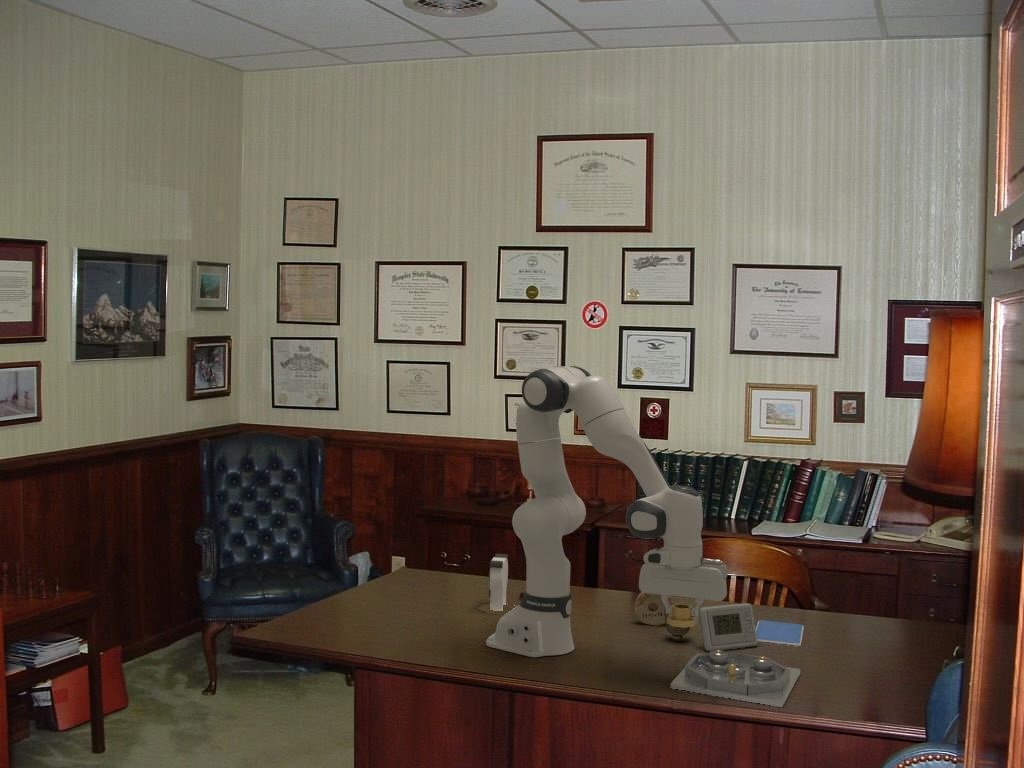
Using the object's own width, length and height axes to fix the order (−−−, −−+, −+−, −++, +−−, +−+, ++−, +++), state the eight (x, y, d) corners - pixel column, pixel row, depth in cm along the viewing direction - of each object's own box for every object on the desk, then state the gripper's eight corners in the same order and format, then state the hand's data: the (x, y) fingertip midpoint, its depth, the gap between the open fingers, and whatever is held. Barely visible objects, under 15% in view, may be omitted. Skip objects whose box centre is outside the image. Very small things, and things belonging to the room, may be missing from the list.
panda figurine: (482, 602, 308) (483, 551, 307) (520, 604, 307) (521, 554, 306) (475, 613, 296) (476, 560, 295) (514, 615, 295) (516, 563, 294)
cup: (691, 645, 271) (692, 614, 271) (662, 642, 273) (663, 612, 272) (692, 637, 279) (693, 607, 278) (664, 634, 280) (665, 605, 280)
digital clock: (703, 653, 265) (705, 611, 265) (691, 642, 274) (692, 602, 274) (763, 651, 268) (765, 610, 268) (749, 640, 277) (750, 600, 277)
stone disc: (671, 623, 291) (673, 588, 290) (671, 627, 287) (672, 591, 287) (634, 621, 293) (635, 585, 292) (633, 624, 289) (634, 589, 288)
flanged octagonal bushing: (664, 625, 241) (664, 608, 241) (672, 618, 247) (672, 601, 247) (691, 628, 239) (692, 611, 238) (698, 621, 244) (699, 604, 244)
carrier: (670, 688, 238) (671, 664, 238) (697, 658, 261) (698, 635, 261) (782, 707, 228) (783, 682, 228) (800, 674, 251) (801, 650, 250)
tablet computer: (800, 648, 273) (801, 643, 273) (751, 643, 276) (751, 638, 276) (804, 629, 291) (804, 624, 291) (757, 624, 295) (758, 619, 295)
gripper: (730, 557, 241) (729, 617, 241) (645, 549, 249) (644, 607, 250) (724, 563, 235) (723, 624, 236) (637, 554, 243) (636, 613, 244)
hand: (682, 615), depth 243 cm, fingers closed on flanged octagonal bushing, 4 cm apart
